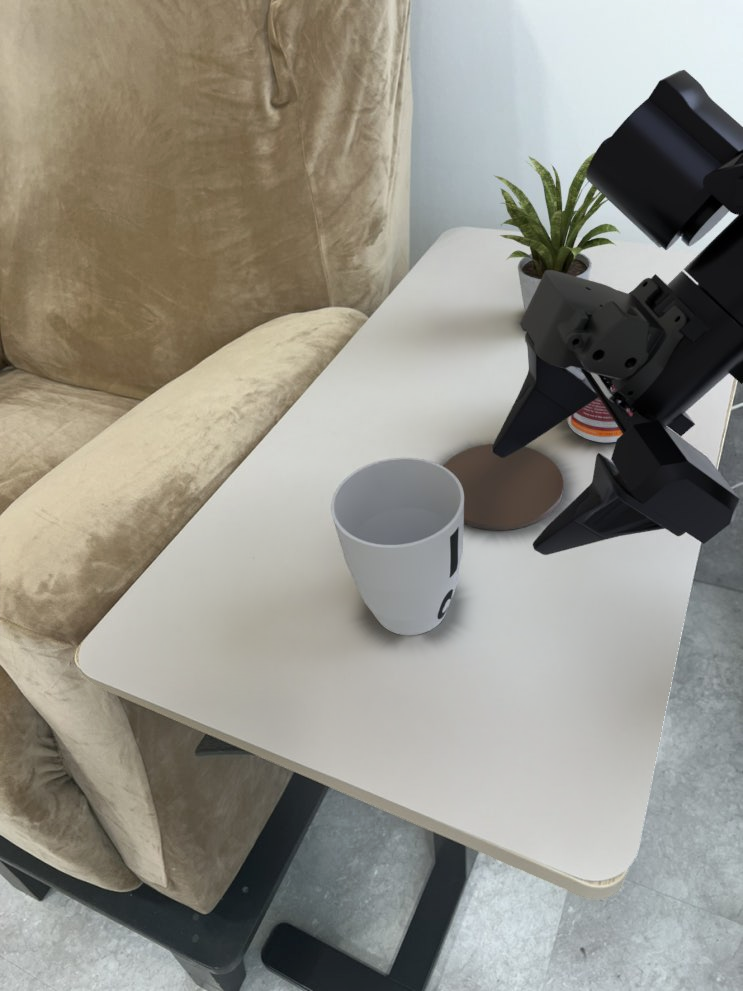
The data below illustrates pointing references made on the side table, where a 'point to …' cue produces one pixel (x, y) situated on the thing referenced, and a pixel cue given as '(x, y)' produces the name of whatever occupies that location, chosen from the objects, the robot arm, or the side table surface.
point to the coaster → (506, 487)
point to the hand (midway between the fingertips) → (515, 498)
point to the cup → (402, 539)
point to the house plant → (553, 230)
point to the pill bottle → (595, 422)
